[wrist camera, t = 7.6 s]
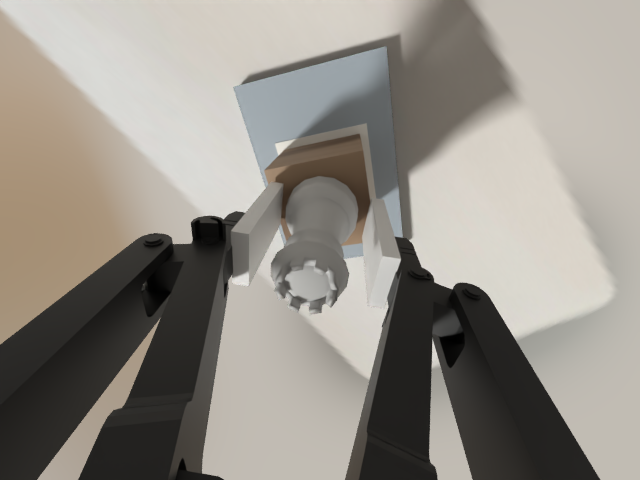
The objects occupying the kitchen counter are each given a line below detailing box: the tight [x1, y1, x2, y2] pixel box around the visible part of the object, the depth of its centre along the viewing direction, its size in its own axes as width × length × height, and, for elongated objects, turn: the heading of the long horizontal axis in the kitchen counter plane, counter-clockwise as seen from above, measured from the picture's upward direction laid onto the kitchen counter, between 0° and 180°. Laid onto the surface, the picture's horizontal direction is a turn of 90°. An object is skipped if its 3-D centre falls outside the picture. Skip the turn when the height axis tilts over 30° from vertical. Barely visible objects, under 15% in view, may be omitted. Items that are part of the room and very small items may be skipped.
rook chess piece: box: [271, 176, 358, 314], centre depth 14 cm, size 4×4×8 cm
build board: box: [233, 46, 403, 259], centre depth 23 cm, size 16×11×1 cm
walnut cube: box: [264, 134, 370, 246], centre depth 20 cm, size 6×6×6 cm
